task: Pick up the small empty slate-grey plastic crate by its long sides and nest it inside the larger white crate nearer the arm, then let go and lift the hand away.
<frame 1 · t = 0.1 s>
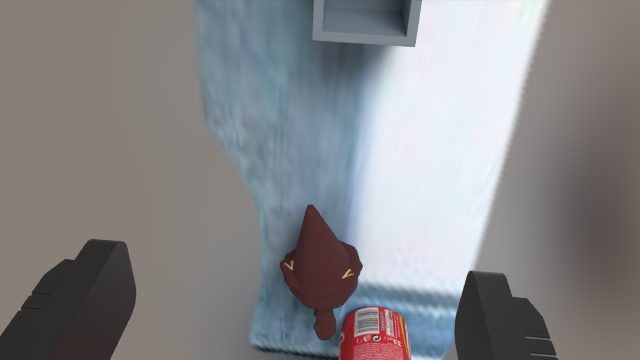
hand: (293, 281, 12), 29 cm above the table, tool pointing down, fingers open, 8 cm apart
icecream: (324, 244, 50), on the table
soda can: (374, 321, 55), on the table
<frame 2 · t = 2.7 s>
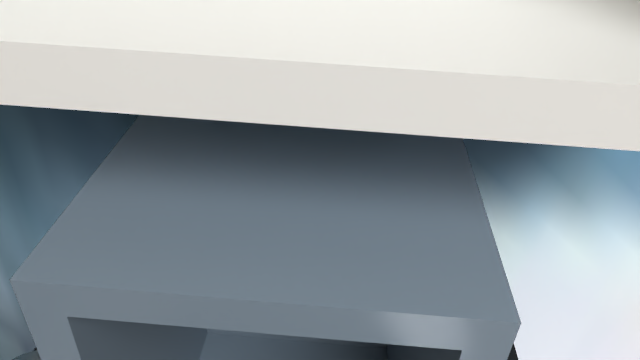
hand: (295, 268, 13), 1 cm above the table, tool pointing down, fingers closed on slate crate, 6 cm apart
slate crate: (301, 236, 14), on the table, touching gripper
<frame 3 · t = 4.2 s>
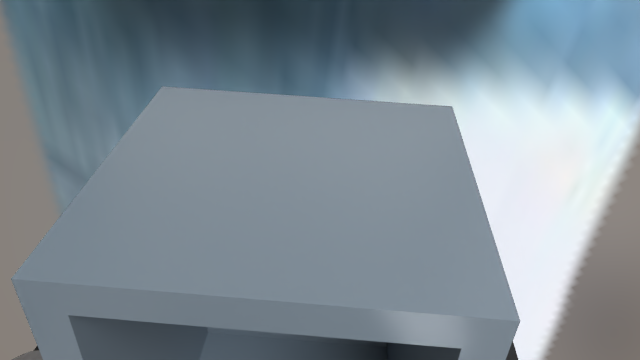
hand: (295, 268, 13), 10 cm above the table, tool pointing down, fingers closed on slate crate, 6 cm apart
slate crate: (301, 236, 14), point 9 cm above the table, touching gripper
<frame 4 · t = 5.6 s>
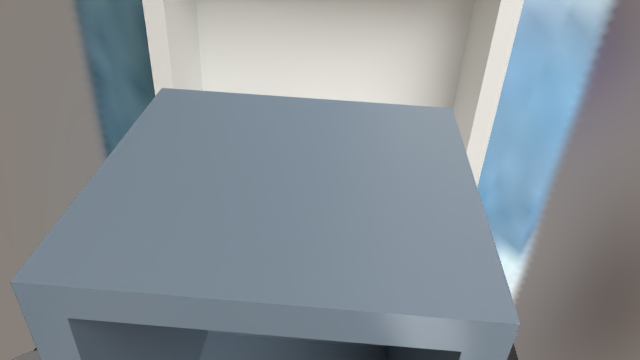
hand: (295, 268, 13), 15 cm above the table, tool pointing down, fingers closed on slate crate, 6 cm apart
slate crate: (301, 237, 14), point 14 cm above the table, touching gripper
white crate: (329, 58, 26), on the table
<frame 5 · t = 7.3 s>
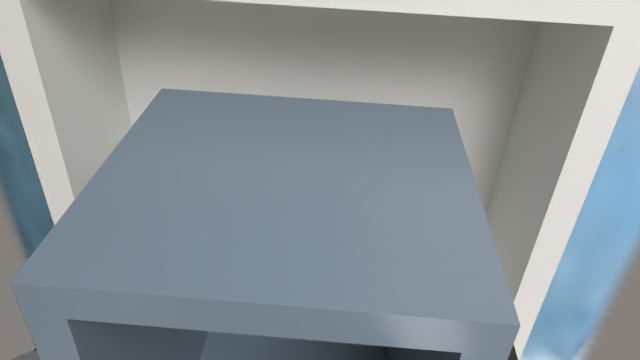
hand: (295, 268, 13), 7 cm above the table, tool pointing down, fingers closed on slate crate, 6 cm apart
slate crate: (301, 238, 14), point 5 cm above the table, touching gripper
white crate: (316, 131, 18), on the table
when the fingers open (3 cm above the table, at t = 8.5 s): slate crate drops 1 cm, resting on white crate.
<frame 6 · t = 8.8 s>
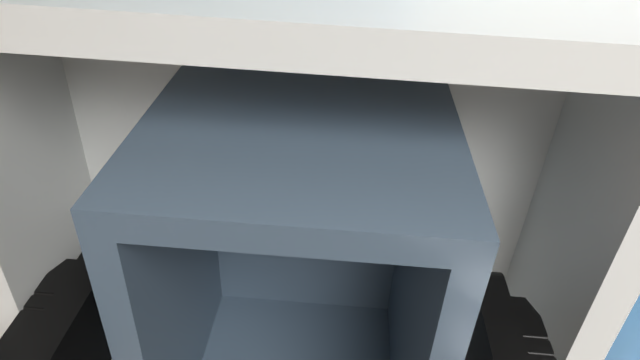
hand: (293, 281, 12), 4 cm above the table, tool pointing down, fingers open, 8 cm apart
slate crate: (309, 203, 15), point 1 cm above the table, touching white crate
white crate: (308, 188, 16), on the table
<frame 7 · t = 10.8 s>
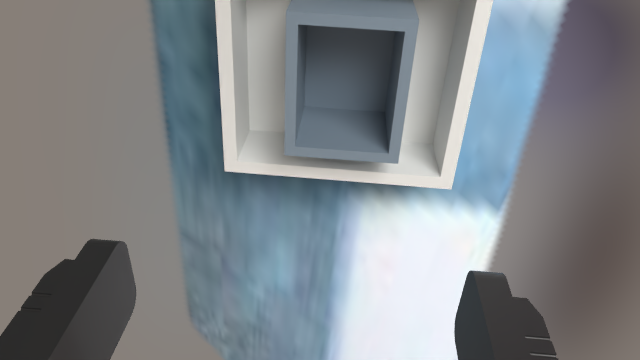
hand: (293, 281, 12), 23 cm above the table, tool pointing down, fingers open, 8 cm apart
slate crate: (348, 54, 32), point 1 cm above the table, touching white crate
white crate: (347, 51, 33), on the table
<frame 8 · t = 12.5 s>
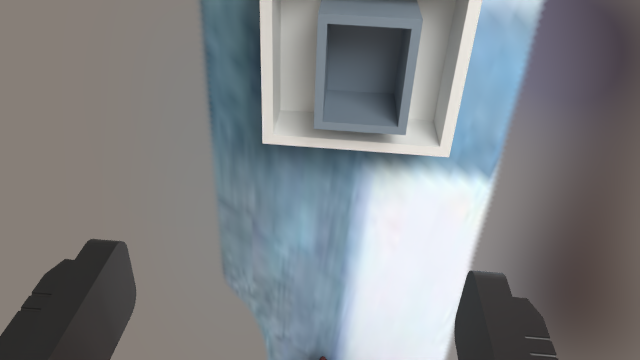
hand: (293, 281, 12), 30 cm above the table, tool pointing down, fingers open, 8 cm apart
slate crate: (364, 46, 39), point 1 cm above the table, touching white crate
white crate: (363, 43, 40), on the table
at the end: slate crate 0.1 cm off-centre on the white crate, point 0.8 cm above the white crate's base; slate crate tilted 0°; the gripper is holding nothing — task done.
